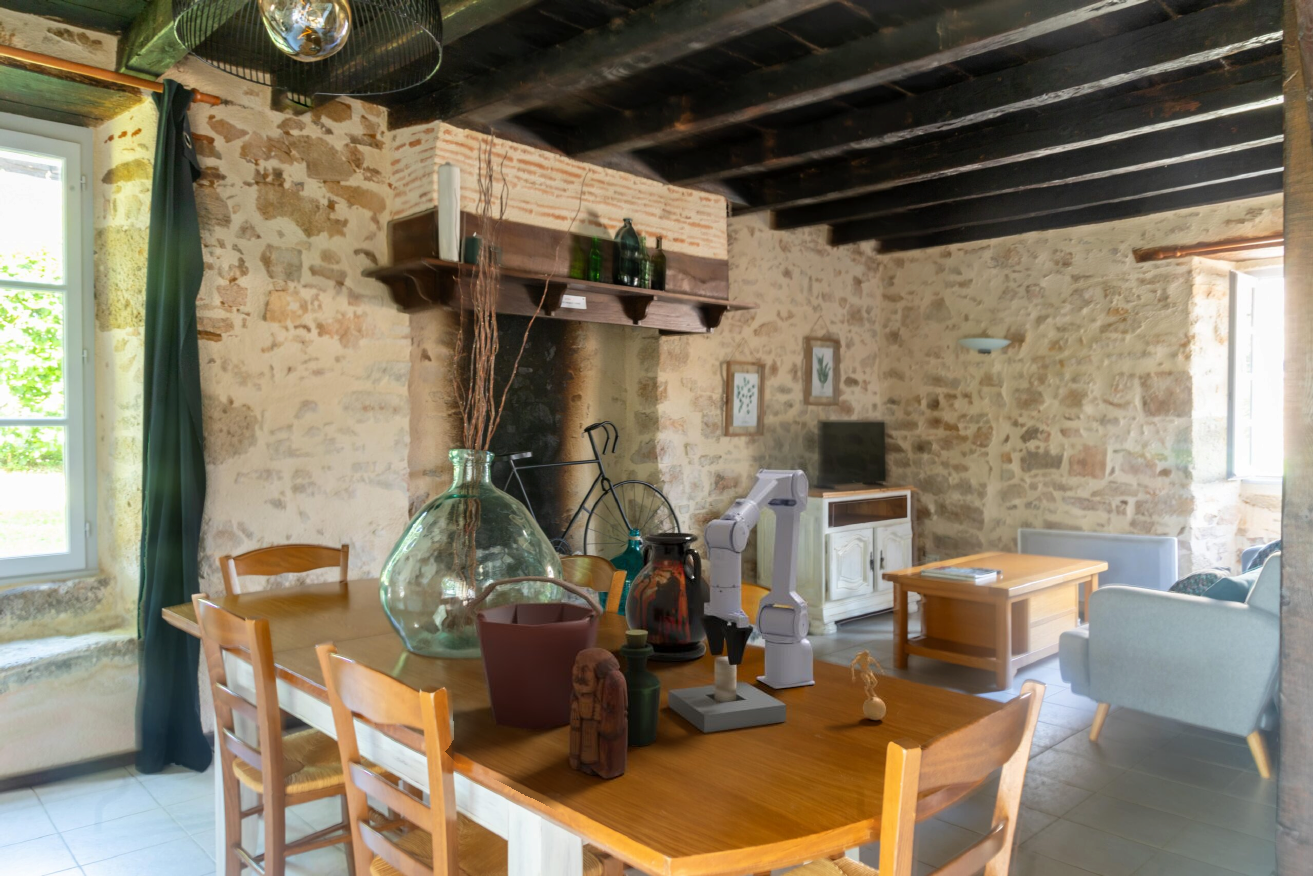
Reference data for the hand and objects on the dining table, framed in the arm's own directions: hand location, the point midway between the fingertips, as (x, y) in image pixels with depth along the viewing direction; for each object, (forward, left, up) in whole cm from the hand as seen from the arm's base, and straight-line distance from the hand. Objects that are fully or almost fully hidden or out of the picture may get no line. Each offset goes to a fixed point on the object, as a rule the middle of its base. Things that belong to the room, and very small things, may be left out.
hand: (725, 659), depth 158 cm
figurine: (-23, +12, -10) cm, 28 cm away
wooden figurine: (+30, +16, -10) cm, 35 cm away
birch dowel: (0, 0, -10) cm, 10 cm away
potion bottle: (+20, +7, -10) cm, 23 cm away
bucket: (+32, -13, -10) cm, 36 cm away
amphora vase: (-8, -45, -10) cm, 47 cm away
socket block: (0, 0, -10) cm, 10 cm away
